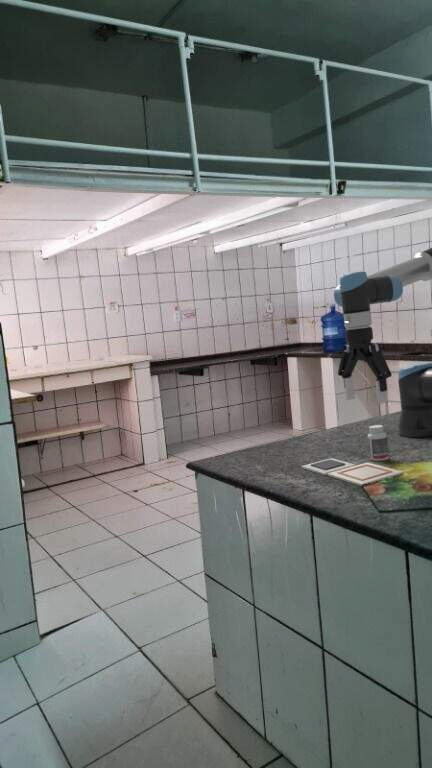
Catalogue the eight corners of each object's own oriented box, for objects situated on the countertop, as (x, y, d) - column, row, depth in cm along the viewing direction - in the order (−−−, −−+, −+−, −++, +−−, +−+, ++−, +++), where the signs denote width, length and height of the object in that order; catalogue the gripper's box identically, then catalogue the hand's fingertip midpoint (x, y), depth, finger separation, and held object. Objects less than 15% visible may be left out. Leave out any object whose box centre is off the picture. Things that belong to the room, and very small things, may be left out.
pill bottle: (392, 458, 164) (389, 425, 163) (380, 462, 162) (377, 429, 161) (378, 455, 169) (375, 423, 168) (365, 459, 166) (362, 427, 165)
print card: (367, 464, 161) (367, 461, 161) (403, 473, 148) (403, 470, 148) (327, 475, 155) (327, 472, 155) (361, 486, 143) (361, 483, 142)
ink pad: (331, 460, 170) (331, 456, 170) (355, 466, 160) (355, 463, 160) (301, 468, 166) (301, 464, 166) (324, 475, 156) (323, 471, 156)
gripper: (321, 330, 170) (329, 400, 172) (378, 327, 147) (386, 407, 150) (341, 327, 173) (348, 395, 175) (400, 323, 150) (407, 401, 153)
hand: (366, 401), depth 162 cm, fingers open, 13 cm apart
